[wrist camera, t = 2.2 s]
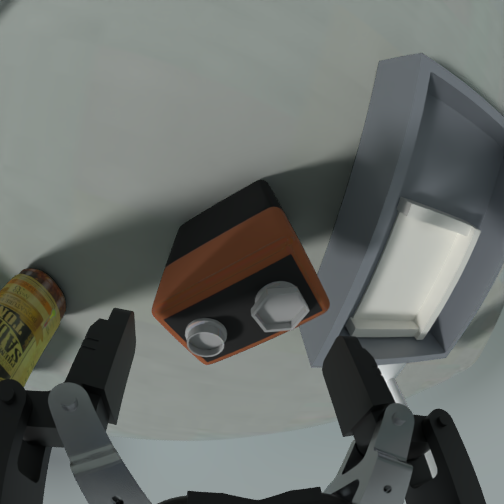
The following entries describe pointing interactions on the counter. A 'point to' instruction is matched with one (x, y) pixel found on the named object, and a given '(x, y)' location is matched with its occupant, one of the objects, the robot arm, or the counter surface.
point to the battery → (237, 278)
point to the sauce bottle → (27, 321)
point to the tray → (415, 219)
